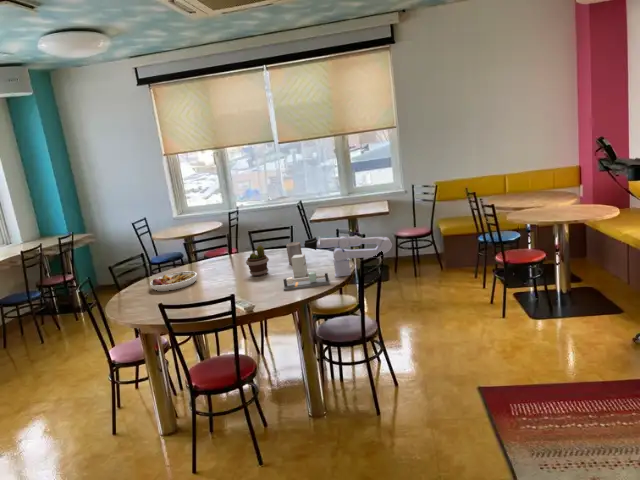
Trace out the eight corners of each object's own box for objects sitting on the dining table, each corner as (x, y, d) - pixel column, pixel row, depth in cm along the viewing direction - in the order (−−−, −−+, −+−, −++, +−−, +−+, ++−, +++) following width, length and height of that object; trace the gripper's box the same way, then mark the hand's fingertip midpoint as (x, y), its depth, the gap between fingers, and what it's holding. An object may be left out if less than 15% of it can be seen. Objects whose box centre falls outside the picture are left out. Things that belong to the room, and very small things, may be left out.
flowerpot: (252, 279, 325) (247, 249, 321) (245, 274, 339) (240, 245, 335) (274, 274, 331) (269, 244, 326) (266, 269, 344) (261, 240, 340)
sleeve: (316, 279, 298) (315, 271, 297) (316, 281, 293) (315, 273, 292) (309, 279, 298) (308, 272, 297) (309, 282, 294) (308, 274, 293)
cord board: (329, 279, 301) (327, 270, 299) (329, 284, 291) (327, 275, 290) (285, 285, 302) (283, 276, 301) (283, 290, 292) (282, 281, 291)
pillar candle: (295, 260, 357) (291, 239, 354) (306, 261, 351) (302, 240, 348) (286, 264, 350) (282, 243, 346) (297, 265, 344) (293, 243, 341)
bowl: (183, 276, 360) (181, 265, 358) (206, 281, 339) (204, 269, 337) (143, 289, 340) (141, 278, 338) (165, 295, 318) (162, 283, 317)
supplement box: (305, 276, 314) (302, 257, 311) (293, 277, 315) (290, 258, 313) (308, 273, 321) (305, 253, 318) (296, 274, 322) (293, 254, 320)
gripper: (327, 233, 309) (304, 234, 310) (327, 238, 295) (303, 239, 295) (327, 245, 311) (305, 246, 311) (327, 250, 297) (304, 251, 297)
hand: (304, 243), depth 303 cm, fingers open, 7 cm apart
